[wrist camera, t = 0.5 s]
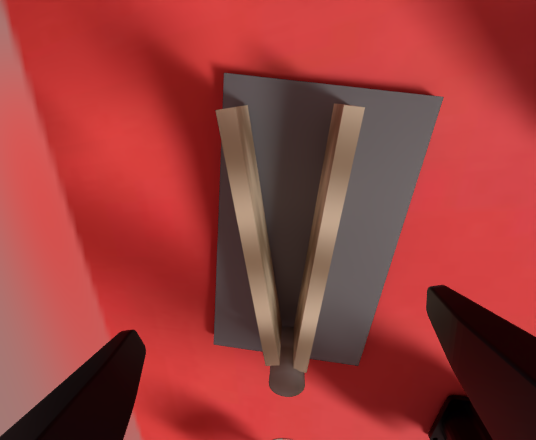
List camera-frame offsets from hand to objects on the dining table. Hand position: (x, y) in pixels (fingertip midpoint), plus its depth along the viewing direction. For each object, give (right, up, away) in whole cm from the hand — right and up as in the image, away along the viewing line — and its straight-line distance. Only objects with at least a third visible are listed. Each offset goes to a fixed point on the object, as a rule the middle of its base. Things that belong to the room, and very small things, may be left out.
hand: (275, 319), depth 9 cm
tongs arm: (-1, +2, +12) cm, 12 cm away
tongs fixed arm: (+2, +1, +13) cm, 13 cm away
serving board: (+3, +1, +14) cm, 14 cm away
